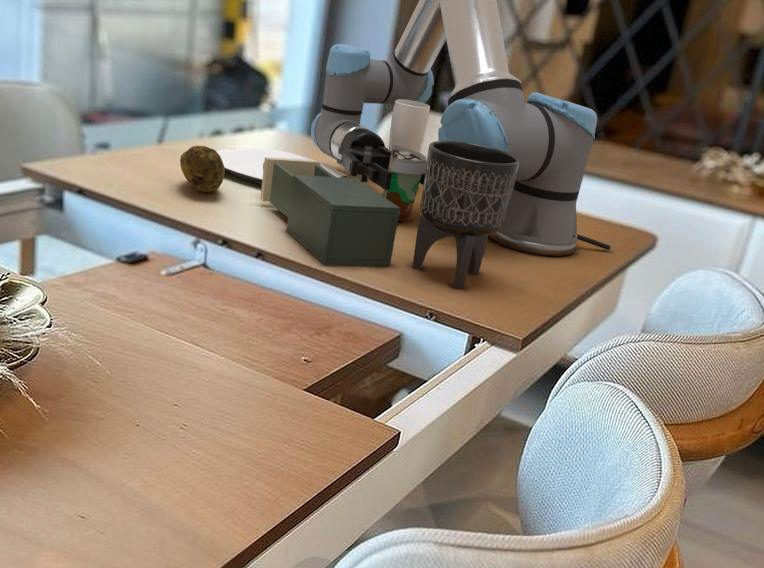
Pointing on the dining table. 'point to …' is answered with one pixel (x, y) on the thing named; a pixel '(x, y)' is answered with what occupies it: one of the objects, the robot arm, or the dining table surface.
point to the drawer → (286, 179)
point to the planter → (464, 200)
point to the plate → (258, 162)
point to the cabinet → (342, 221)
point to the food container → (404, 178)
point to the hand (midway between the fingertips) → (414, 182)
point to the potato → (203, 168)
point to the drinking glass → (408, 124)
